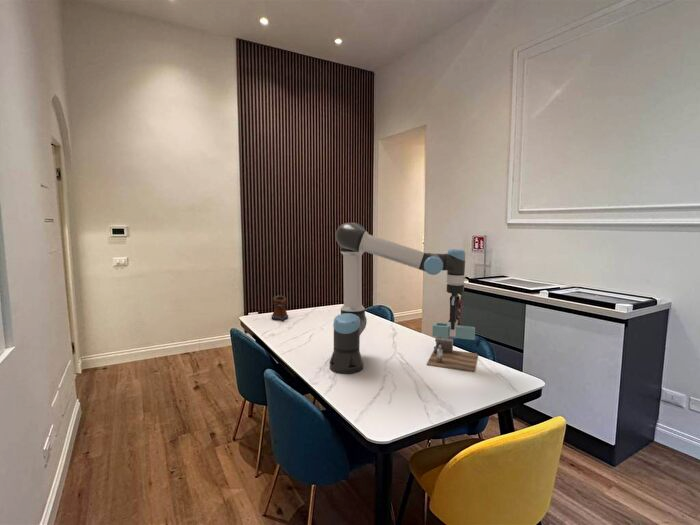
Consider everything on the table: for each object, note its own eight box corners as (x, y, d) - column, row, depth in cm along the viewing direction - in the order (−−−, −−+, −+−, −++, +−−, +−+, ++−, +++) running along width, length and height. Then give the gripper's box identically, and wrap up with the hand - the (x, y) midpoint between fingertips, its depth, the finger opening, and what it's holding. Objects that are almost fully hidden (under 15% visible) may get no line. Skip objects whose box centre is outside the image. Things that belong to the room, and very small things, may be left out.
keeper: (450, 356, 186) (451, 342, 185) (433, 353, 189) (434, 340, 188) (452, 350, 194) (453, 337, 193) (436, 348, 197) (436, 335, 196)
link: (432, 336, 174) (432, 325, 173) (435, 332, 180) (435, 322, 180) (473, 341, 167) (474, 330, 166) (475, 336, 173) (475, 326, 173)
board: (474, 372, 168) (474, 370, 168) (426, 365, 175) (426, 363, 175) (477, 354, 190) (477, 353, 190) (434, 349, 198) (435, 348, 198)
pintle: (441, 364, 177) (442, 346, 176) (436, 363, 178) (436, 345, 177) (442, 362, 179) (442, 344, 178) (437, 361, 180) (437, 344, 179)
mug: (293, 322, 247) (292, 299, 245) (275, 323, 242) (275, 300, 241) (286, 315, 263) (286, 294, 262) (269, 317, 259) (269, 295, 257)
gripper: (461, 287, 162) (459, 341, 164) (466, 281, 177) (463, 331, 180) (443, 286, 165) (441, 338, 167) (449, 280, 180) (447, 329, 183)
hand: (453, 334), depth 174 cm, fingers closed on link, 3 cm apart
